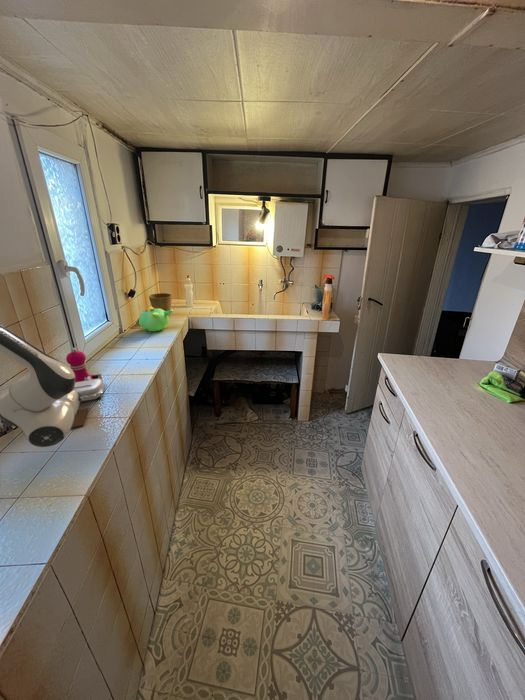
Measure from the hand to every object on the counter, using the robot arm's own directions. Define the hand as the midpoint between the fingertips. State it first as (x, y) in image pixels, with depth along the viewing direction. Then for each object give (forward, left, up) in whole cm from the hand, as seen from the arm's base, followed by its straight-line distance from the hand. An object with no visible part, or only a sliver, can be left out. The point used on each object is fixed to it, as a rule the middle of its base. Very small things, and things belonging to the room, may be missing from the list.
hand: (72, 381), depth 95 cm
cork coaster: (-2, -5, -12) cm, 14 cm away
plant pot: (+6, +109, -13) cm, 110 cm away
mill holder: (-3, +11, -12) cm, 17 cm away
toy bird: (+7, +83, -13) cm, 84 cm away
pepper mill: (-3, +11, -13) cm, 17 cm away
